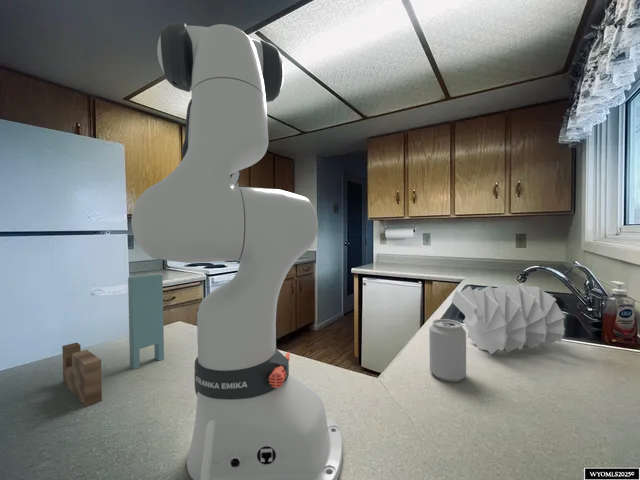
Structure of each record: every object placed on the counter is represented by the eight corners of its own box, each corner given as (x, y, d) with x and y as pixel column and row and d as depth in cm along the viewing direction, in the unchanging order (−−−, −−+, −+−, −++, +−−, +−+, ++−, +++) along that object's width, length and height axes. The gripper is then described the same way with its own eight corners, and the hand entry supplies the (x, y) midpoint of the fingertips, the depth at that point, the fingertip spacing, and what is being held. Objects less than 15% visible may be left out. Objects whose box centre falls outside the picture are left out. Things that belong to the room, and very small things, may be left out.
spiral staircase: (556, 362, 78) (482, 370, 72) (506, 319, 94) (441, 322, 87) (592, 310, 71) (513, 313, 64) (531, 272, 86) (462, 271, 80)
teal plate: (164, 358, 74) (162, 274, 74) (134, 369, 69) (132, 278, 69) (159, 356, 76) (157, 274, 76) (129, 366, 70) (128, 277, 70)
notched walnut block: (101, 400, 56) (101, 359, 56) (85, 406, 54) (84, 364, 54) (77, 377, 65) (76, 342, 65) (63, 381, 63) (62, 345, 63)
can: (470, 374, 64) (470, 321, 64) (459, 387, 59) (459, 329, 59) (437, 364, 69) (436, 315, 69) (424, 375, 64) (423, 322, 64)
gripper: (169, 184, 90) (130, 201, 80) (221, 192, 83) (185, 212, 72) (175, 202, 94) (138, 221, 83) (225, 211, 87) (191, 233, 76)
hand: (160, 217), depth 78 cm, fingers open, 8 cm apart
